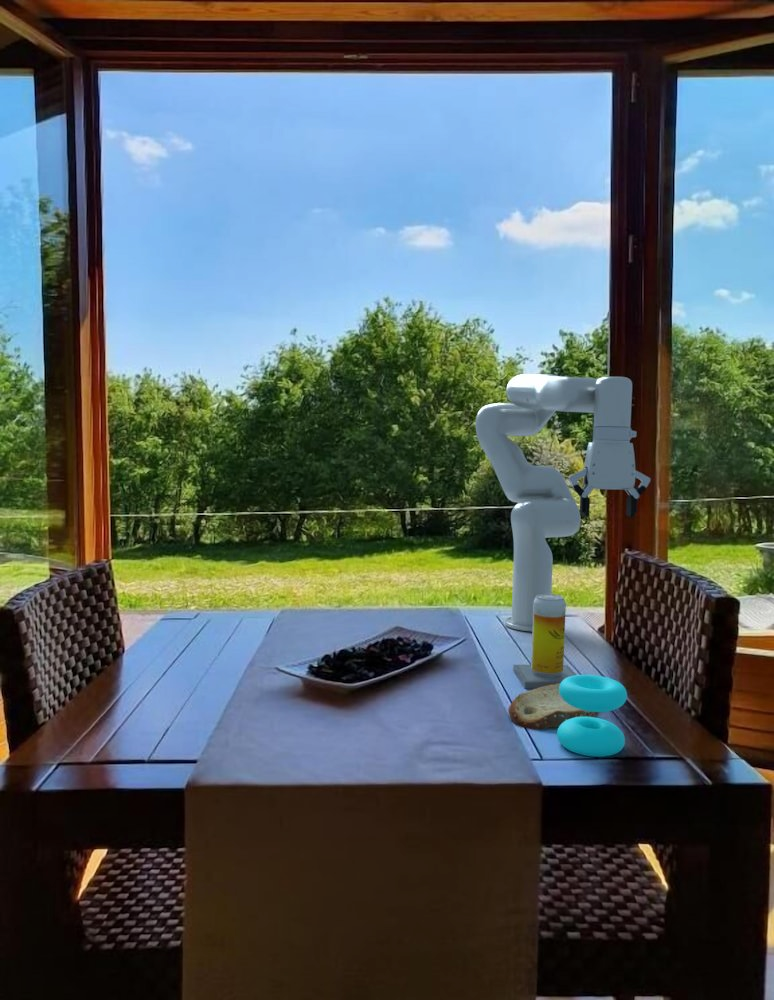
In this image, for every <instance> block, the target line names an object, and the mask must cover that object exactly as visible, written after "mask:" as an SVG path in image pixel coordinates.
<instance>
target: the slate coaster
mask: <svg viewBox="0 0 774 1000" xmlns="http://www.w3.org/2000/svg"><path fill="white" fill-rule="evenodd" d="M512 667H513V669H512V671H513V672H514V674H515V676H516V678H517V679H518V680H519V682H520V683H521V685H522V687H523V688H524V689H531V690H533V689H537V688H539V687H543V686H547V685H552V684H557V683H561V682H562V681H563V680H564V679H565V678H567V677H570V676H574V675H577V674H576V673H575V672H574V670H573V669H571V667H570V666H569V665H568V664H567V665H566V664H563V671H562V672H561V673H560V675H559V676H555V677H546V676H540V675H537V674H535V673H534V671H533V670H532V668H531V664H513V666H512Z"/></svg>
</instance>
